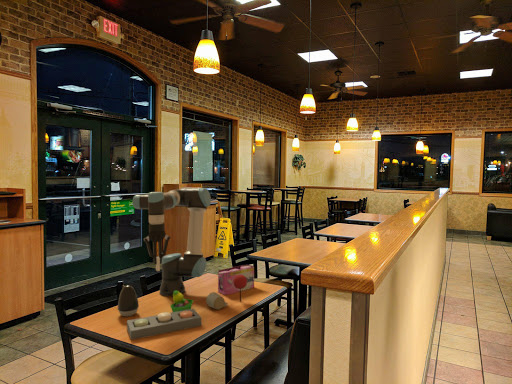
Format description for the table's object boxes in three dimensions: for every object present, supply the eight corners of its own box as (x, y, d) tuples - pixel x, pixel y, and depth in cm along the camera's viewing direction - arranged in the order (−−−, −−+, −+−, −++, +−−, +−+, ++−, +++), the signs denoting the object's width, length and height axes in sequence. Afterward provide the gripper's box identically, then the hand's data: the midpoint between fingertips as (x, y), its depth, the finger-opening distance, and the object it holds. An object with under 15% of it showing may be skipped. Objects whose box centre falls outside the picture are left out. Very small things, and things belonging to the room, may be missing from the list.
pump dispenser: (133, 309, 196) (132, 281, 195) (142, 314, 189) (141, 285, 188) (114, 314, 189) (113, 285, 188) (123, 320, 182) (122, 290, 181)
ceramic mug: (214, 311, 191) (214, 297, 191) (205, 307, 197) (205, 293, 197) (230, 307, 198) (230, 293, 198) (222, 303, 204) (222, 289, 204)
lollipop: (245, 304, 202) (244, 277, 201) (231, 303, 204) (231, 276, 203) (249, 299, 209) (248, 273, 208) (236, 298, 211) (235, 272, 210)
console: (127, 329, 171) (126, 320, 171) (193, 316, 185) (193, 308, 185) (131, 340, 159) (130, 331, 159) (201, 325, 174) (201, 317, 174)
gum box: (223, 296, 216) (222, 273, 216) (215, 292, 222) (215, 270, 222) (254, 287, 231) (254, 266, 231) (247, 284, 237) (246, 264, 237)
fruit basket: (182, 317, 184) (182, 295, 184) (167, 315, 187) (167, 293, 187) (194, 309, 195) (193, 288, 194) (179, 307, 198) (179, 287, 198)
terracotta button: (178, 317, 178) (178, 312, 178) (190, 315, 181) (190, 310, 181) (181, 321, 173) (181, 316, 173) (194, 319, 176) (194, 314, 176)
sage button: (133, 325, 169) (133, 320, 169) (147, 323, 172) (146, 318, 171) (135, 330, 164) (135, 325, 163) (149, 328, 166) (149, 322, 166)
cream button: (156, 319, 174) (156, 313, 173) (169, 316, 176) (169, 311, 176) (159, 323, 168) (159, 318, 168) (172, 321, 171) (172, 315, 171)
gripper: (144, 225, 175) (145, 273, 176) (171, 223, 180) (172, 270, 182) (141, 223, 181) (143, 270, 182) (168, 221, 187) (169, 267, 188)
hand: (157, 270), depth 182 cm, fingers closed
